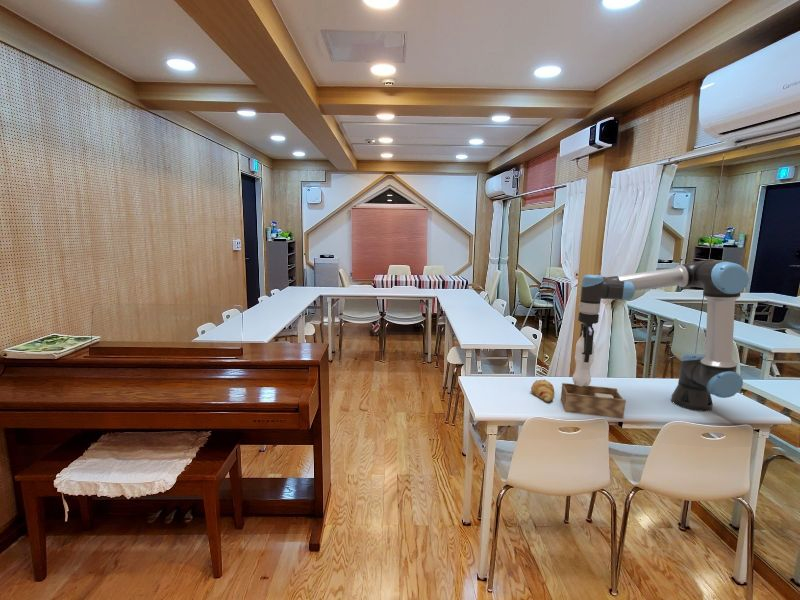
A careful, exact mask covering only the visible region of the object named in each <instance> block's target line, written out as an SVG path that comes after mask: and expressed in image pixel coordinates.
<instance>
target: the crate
mask: <svg viewBox="0 0 800 600" xmlns="http://www.w3.org/2000/svg"><path fill="white" fill-rule="evenodd" d="M595 393H601V394H611V395H612V396H613V397H614V398H606V397H597V396H594V394H595ZM560 402H561V404H562V407H563V410H564V412H565V413H573V414H583V415H589V416H590V415H591V416H598V417H599V416H600V417H605V418H606V417H608V418H614V419H615V418H616V419H622V420H623V419H624V418H625V417H624V416H625V407H626V398H625V399H624V398H623V397H622V396H621V394H620V392H618V388H614V387H605V386H595V385H589V386H587V387H586V386H585V385H583V386H582V387H581V386H578V385H577V384H574V383H567V382H566V383H565V382H562V384H561V393H560Z"/></svg>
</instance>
